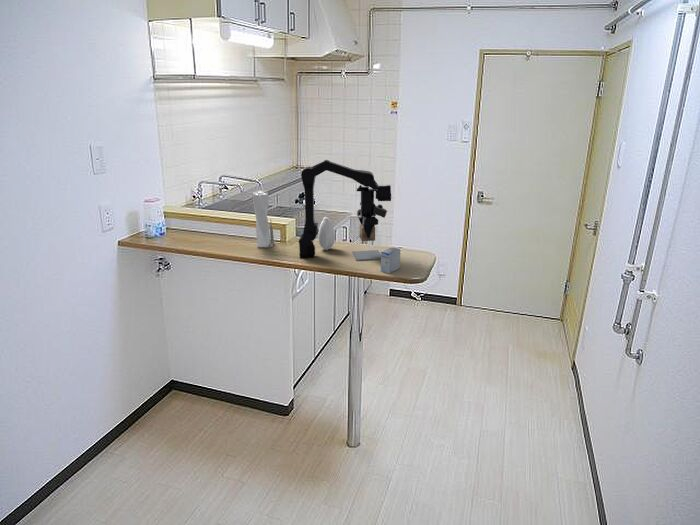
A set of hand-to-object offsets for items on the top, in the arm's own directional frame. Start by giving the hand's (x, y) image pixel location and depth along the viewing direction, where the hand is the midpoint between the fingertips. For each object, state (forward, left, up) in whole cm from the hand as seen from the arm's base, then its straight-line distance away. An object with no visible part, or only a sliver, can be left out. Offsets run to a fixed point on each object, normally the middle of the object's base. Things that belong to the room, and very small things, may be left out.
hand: (367, 235), depth 223 cm
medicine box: (+6, -20, -10) cm, 23 cm away
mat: (0, 0, -10) cm, 10 cm away
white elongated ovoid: (-17, +13, -10) cm, 23 cm away
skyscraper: (-46, +24, -10) cm, 53 cm away
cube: (0, 0, -2) cm, 2 cm away
